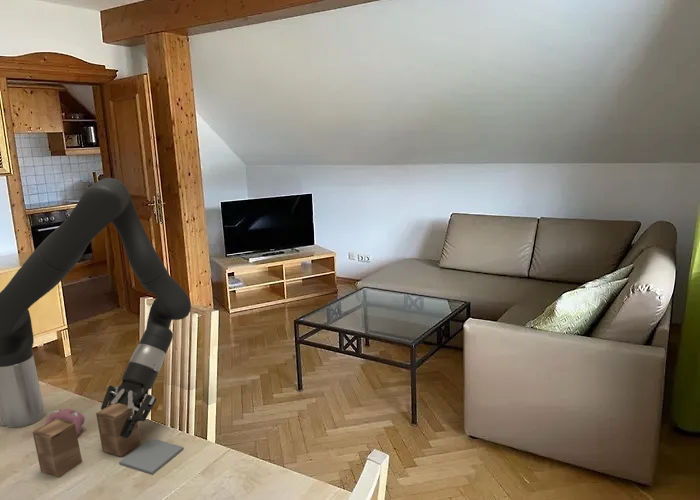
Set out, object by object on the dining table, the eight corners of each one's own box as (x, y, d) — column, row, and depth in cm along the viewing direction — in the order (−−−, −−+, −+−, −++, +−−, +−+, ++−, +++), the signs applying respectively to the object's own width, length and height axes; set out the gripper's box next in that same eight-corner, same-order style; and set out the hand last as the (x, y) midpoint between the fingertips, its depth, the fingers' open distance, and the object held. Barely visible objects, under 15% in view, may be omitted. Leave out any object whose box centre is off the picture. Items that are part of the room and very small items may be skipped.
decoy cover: (40, 471, 124) (32, 431, 122) (64, 456, 129) (56, 418, 127) (59, 477, 122) (50, 437, 119) (82, 461, 127) (74, 423, 124)
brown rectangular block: (102, 451, 130) (96, 413, 128) (122, 437, 135) (116, 400, 133) (121, 456, 128) (114, 418, 125) (140, 442, 133) (135, 405, 130)
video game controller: (84, 439, 139) (89, 410, 140) (71, 441, 134) (76, 411, 136) (52, 435, 141) (57, 406, 143) (38, 437, 137) (43, 407, 138)
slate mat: (119, 464, 125) (118, 461, 125) (151, 440, 134) (151, 438, 134) (152, 474, 121) (152, 472, 121) (183, 449, 130) (183, 447, 130)
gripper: (113, 356, 136) (80, 423, 129) (157, 365, 130) (125, 436, 123) (132, 366, 142) (102, 432, 135) (175, 375, 136) (146, 444, 129)
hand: (113, 433), depth 129 cm, fingers closed on brown rectangular block, 6 cm apart
